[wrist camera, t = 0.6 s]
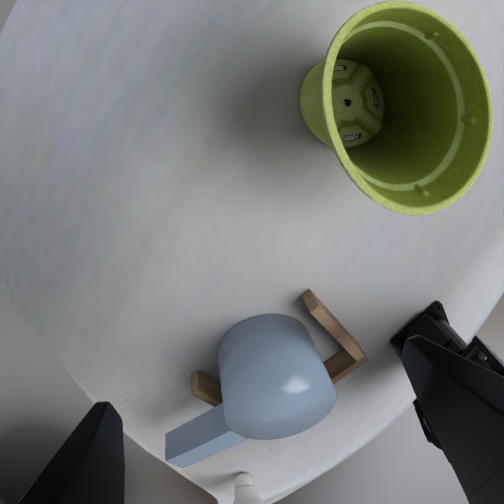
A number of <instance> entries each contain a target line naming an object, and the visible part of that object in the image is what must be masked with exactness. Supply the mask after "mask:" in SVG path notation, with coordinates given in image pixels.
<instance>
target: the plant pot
mask: <svg viewBox="0 0 504 504" xmlns="http://www.w3.org/2000/svg"><path fill="white" fill-rule="evenodd" d="M337 65H342V66H345V67H346V68H347V69H346V70H340V71H333V69H334V67H336V66H337ZM372 89H373V90H375V92H376V94H377V97H378V108H375V107H374V98H373V94H372V93H373V91H372ZM345 99H346V100H347V99H348V100H350V102H351V104H350V106H345V105H344V100H345ZM299 102H300V110H301V113H302V116H303V119H304V121H305V123H306V125H307V127H308V128H309V130H310V131H311V132H312V133H313V134H314V135H315V136H316V137H317V138H318V139H319V140H320V141H322V142H323V143H324V144H326V145H327V146H328V147H330V148H331V149H333V150H334V151H335V153H336V155H337V157H338V159H339V161H340V163H341V165H342V167H343V169H344V170H345V172H346V173H347V174H348V176H349V177H350V179H351V180H352V181H353V182H354V183H355V185H356V186H357V187H358V188H359V189H360V190H361V191H362V192H363V193H364V194H365V195H367V196H368V197H369V198H370V199H372V200H373V201H374V202H376V203H377V204H379V205H381V206H382V207H384V208H386V209H389V210H391V211H393V212H396V213H401V214H406V215H426V214H430V213H434V212H437V211H440V210H442V209H445V208H447V207H448V206H450V205H451V204H453V203H454V202H455V201H457V200H458V199H459V198H460V197H461V196H463V195H464V194H465V192H466V191H467V190H468V189H469V188H470V187H471V186H472V184H473V183H474V181H475V180H476V178H477V177H478V175H479V173H480V171H481V169H482V168H483V165H484V163H485V160H486V158H487V154H488V151H489V147H490V143H491V138H492V129H493V106H492V99H491V93H490V89H489V84H488V81H487V78H486V75H485V72H484V70H483V68H482V65H481V63H480V61H479V58H478V57H477V55H476V53H475V51H474V50H473V48H472V47H471V45H470V44H469V42H468V41H467V40H466V38H465V37H464V36H463V35H462V34H461V32H460V31H459V30H458V29H457V28H456V27H455V26H453V25H452V24H451V23H450V22H449V21H447V20H446V19H445V18H443V17H442V16H440V15H439V14H437V13H435V12H434V11H432V10H430V9H428V8H426V7H424V6H421V5H418V4H415V3H410V2H403V1H385V2H380V3H376V4H373V5H370V6H368V7H365V8H363V9H362V10H360V11H358V12H357V13H355V14H354V15H353V16H352V17H351V18H349V19H348V20H347V21H346V22H345V23H344V24H343V25H342V26H341V28H340V29H339V30H338V32H337V33H336V35H335V36H334V38H333V40H332V42H331V44H330V46H329V48H328V51H327V54H326V57H325V58H324V59H322V60H321V61H320V62H319V63H318V64H317V65H315V66H314V67H313V68H312V69H311V70H310V71H309V73H308V74H307V76H306V77H305V79H304V81H303V83H302V86H301V90H300V98H299ZM359 133H361V136H360V138H358V139H355V140H352V141H346V140H344V138H343V137H344V136H353V135H357V134H359Z"/></svg>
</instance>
